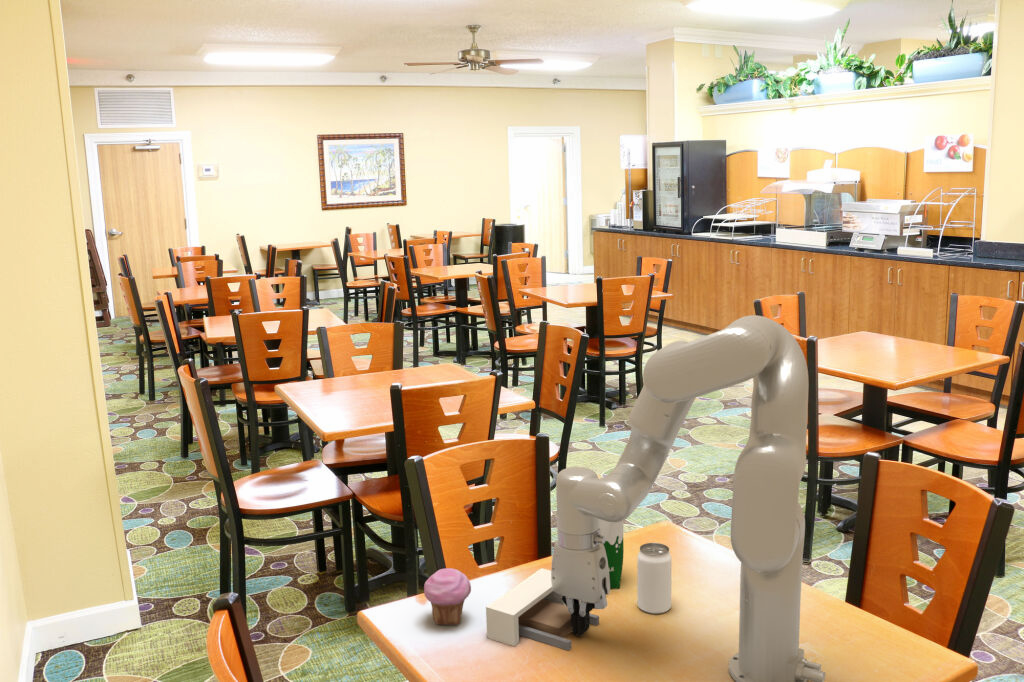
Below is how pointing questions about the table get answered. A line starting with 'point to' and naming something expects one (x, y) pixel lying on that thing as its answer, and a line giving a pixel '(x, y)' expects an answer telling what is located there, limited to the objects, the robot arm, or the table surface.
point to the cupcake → (447, 595)
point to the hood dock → (517, 602)
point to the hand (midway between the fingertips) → (580, 632)
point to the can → (654, 578)
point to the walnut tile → (548, 618)
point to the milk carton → (613, 549)
